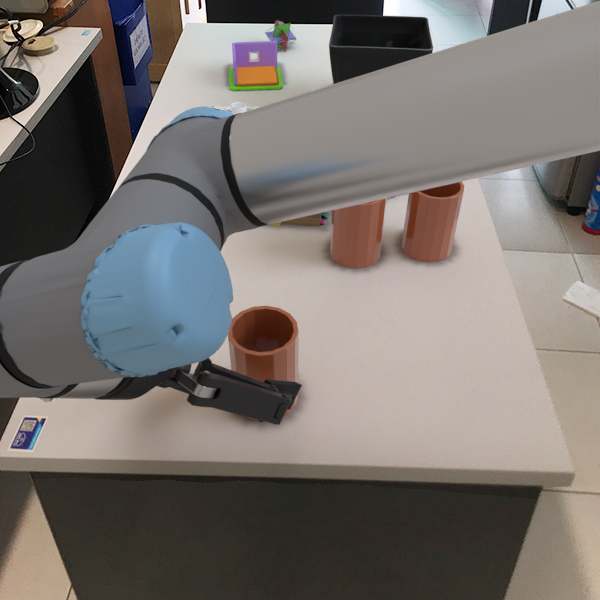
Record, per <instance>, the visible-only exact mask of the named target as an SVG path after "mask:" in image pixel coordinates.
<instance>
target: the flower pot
mask: <svg viewBox="0 0 600 600" xmlns="http://www.w3.org/2000/svg"><path fill="white" fill-rule="evenodd" d="M332 22H333V23H332V27H331V33H330V38H329V42H328V48H329V49H328V51H329V61H330V71H331V78H332V84H336V83H339V82H342V81H345V80H348V79H352V78H355V77H358V76H361V75H364V74H368V73H371V72H374V71H377V70H380V69H384V68H387V67H390V66H393V65H396V64H399V63H403V62H406V61H409V60H412V59H415V58H419V57H422V56H425V55H428V54H431V53H434V45H433V44H434V43H433V39H432V35H431V29H430V24H429V18H428V17H425V16H409V15H408V16H407V15H377V14H373V15H372V14H334V15H333V21H332Z"/></svg>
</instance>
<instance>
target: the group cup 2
mask: <svg viewBox="0 0 600 600" xmlns="http://www.w3.org/2000/svg"><path fill="white" fill-rule="evenodd" d="M464 191H465V184H464V183H463V181H462V182H457V183H453V184H448V185H444V186H439V187H435V188H430V189H426V190H421V191H417V192H412V193H408V197H407V203H406V211H405V218H404V224H403V231H402V240H401V245H400V246H401V249H402V251H403V252H404V253H405V254H406V255H407V256H408V257H409V258H411V259H413V260H416V261H418V262H422V263H423V262H424V263H438V262H441V261H444V260H446V259H447V258H448V257H449V256H450V255H451V254H452V251H453V244H454V241H455V240H454V239H455V235H456V230H457V225H458V221H459V215H460V210H461V206H462V201H463V197H464V193H465V192H464Z"/></svg>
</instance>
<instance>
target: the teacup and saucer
mask: <svg viewBox="0 0 600 600" xmlns="http://www.w3.org/2000/svg"><path fill="white" fill-rule="evenodd" d="M230 105H231V107H228V108H226V111H227V110H228V109H230V110H231V111H232V114H234V115H235V114H238V113H243V112H246V111H247V106H248V105H247V103H246V102H245V101H234V102H232V103H231V104H230Z"/></svg>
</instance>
